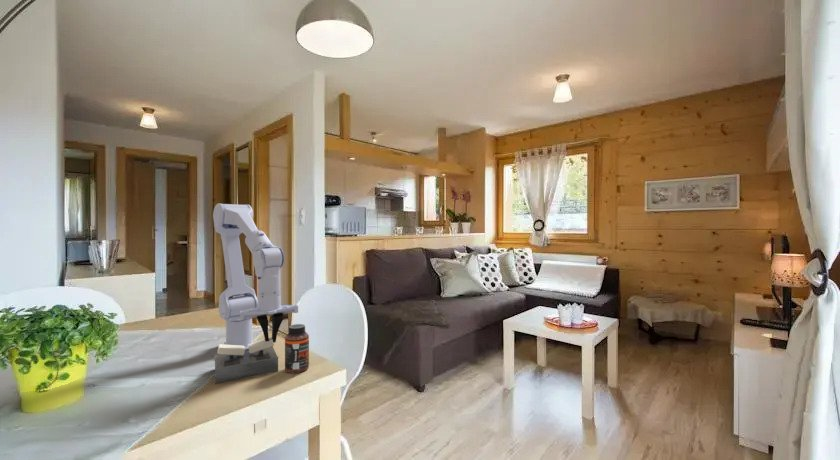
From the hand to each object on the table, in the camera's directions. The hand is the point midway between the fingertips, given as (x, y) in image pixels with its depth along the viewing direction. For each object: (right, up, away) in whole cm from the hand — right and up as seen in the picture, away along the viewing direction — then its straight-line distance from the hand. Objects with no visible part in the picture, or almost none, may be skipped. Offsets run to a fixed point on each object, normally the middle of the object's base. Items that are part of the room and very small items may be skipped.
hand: (270, 342), depth 96 cm
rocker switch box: (-4, -6, -5) cm, 9 cm away
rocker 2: (-2, 0, -1) cm, 2 cm away
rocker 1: (-8, -1, -5) cm, 9 cm away
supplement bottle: (+9, -6, -4) cm, 11 cm away
